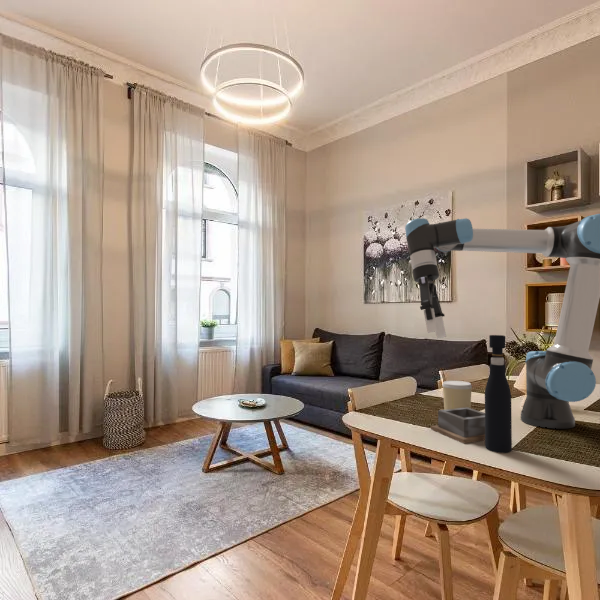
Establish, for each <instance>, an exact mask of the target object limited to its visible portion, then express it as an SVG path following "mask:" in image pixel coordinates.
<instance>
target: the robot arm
mask: <svg viewBox="0 0 600 600" xmlns="http://www.w3.org/2000/svg"><path fill="white" fill-rule="evenodd" d="M404 229H405V237H406V238H405V239H406V243H407V249H408V253H409V258H410V260H409V261H408V264H410V266H411V269H412V276H413V280H414V282H415V283H417V284H419V296H420V306H419V308H420V309H419V310H421V311H423V315H424V320H425V325H426V332H427V333H428V334H429V333H434V332H435V335H436V339H441V338H442V339H443V338H446V337H447V334H446V329H445V323H444V319H443V317H445V313H443V310H442V306H441V303H440V299H439V295H438V291H437V286H436V284H435V283H434V281H435V280H437V279H439V277H440V273H439V269H438V268H439V267H438V266H437V264H438V262H437V255H436V252H435V249H437V250H438V251H439V252H444V253H447V252H452V251H454V252H457V251H458V252H461V251H462V252H463V251H465V252H466V251H467V252H490V253H492V252H493V253H515V254H516V253H517V254H518V253H519V254H522V253H524V254H541V255H542V256H544V257H546V258H561V259H565V261H566V262H567V263H568V264H569V270H568V275H567V280H566V281H567V282H566V284H565V290H564V295H563V299H562V305H561V310H560V314H559V319H558V324H557V329H556V334H555V338H554V342H553V345H551V346H549V347H548V348H547V349H546V350H545V351H543V350H537V351H536V350H535V351H532V350H531V351H528V352H526V357H525V375H526V377H525V379H526V381H525V382H526V385H525V386H526V390H525V391H526V397H525V400H524V403H523V405H522V410H520V420H521V421H522V422H523V423H525V424H527V425H532V426H535V427H539V426H540V427H541V428H545V427H547V428H546V429H555V428H556V430H557V429H558V430H559V429H561V430H562V429H564V430H565V429H566V430H567V429H572V428H574V427H576V419H575V416H574V414H573V411H572V408H571V405H570V403H575V402H576V403H577V402H580V401H583V400H585V399H587V398H589V397H591V394H593V392H594V391H595V388H596V385H597V377H596V375H595V374H594V371H593V370H592V368H593V363H594V362H593V361H594V357H593V356H592V355H591V353H590V351H589V349H590V345H591V340H592V335H593V331H594V325H595V323H596V322H595V321H596V316H597V312H598V307H599V303H600V213H596V214H592V215H588V216H585V217H584V218H583V219H580V220H578V221H575V222H574V223H571V224H568V225H564V226H562V225H561V226H548V227H547V228H545V229H513V228H512V229H511V228H509V229H507V228H506V229H504V228H503V229H502V228H473V224H472V221H471V220H470V218H467V217H465V218H456V219H454V220H447V221H444V222H438V223H434V224H433V223H430V222H429V220H428V219H427V218H424V217H422V218H420V217H419V218H414V219H412V220H409V221H408V222H407V223H406V225H405V227H404Z"/></svg>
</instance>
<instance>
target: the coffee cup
mask: <svg viewBox="0 0 600 600" xmlns="http://www.w3.org/2000/svg"><path fill="white" fill-rule="evenodd" d="M441 386H442V395H443V396H442V397H443V407H444V408H443V410H447V409H456V408H466V407H467V408H471V406H472V405H471V403H472V389H473V385H472V384H471V382H469V381H465V380H464V381H462V380H444V381H443V382H442V384H441Z"/></svg>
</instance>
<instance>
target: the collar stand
mask: <svg viewBox="0 0 600 600" xmlns="http://www.w3.org/2000/svg"><path fill="white" fill-rule="evenodd" d="M437 415H438V416H437V418H438V421H437V423H438V424H437V425H431V426H430V429H431V431H434V432H436V433H438V434H441V435H443V436H446V437H448V438H451V439H452V440H456V441H457V442H459V443H462V444H468V443H476V442H482V441H484V442H485V412H483V411H480V410H477V409H474V408H471V407H470V408H467V407H466V408H456V409H447V410H444V409H439V410H437Z"/></svg>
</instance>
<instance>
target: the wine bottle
mask: <svg viewBox="0 0 600 600" xmlns="http://www.w3.org/2000/svg"><path fill="white" fill-rule="evenodd" d="M488 341H489V348H491V349H492V350H491V352H492V353H491V355H492V357H490V364H489V375H488V378H487V381H486V385H485V389H484V413H485V440H484V448H485V449H486V450H487V451H490V452H494V453H501V454H507V453H511V452H513V448H512V446H513V443H512V441H513V440H512V437H513V434H512V432H513V431H512V428H513V427H512V422H513V421H512V393H511V387H510V384H509V381H508V378H507V376H506V364H505V359H504V357H503V355H504V354H503V352H504V351H503V349H506V336H505V335H501V334H490V335H489V339H488Z"/></svg>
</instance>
